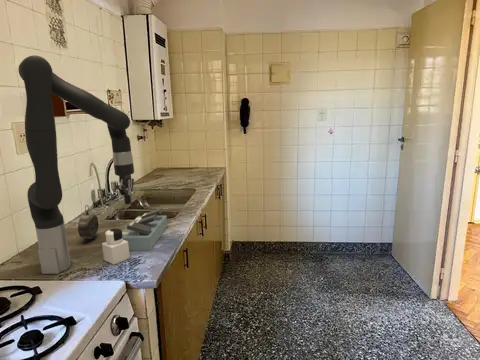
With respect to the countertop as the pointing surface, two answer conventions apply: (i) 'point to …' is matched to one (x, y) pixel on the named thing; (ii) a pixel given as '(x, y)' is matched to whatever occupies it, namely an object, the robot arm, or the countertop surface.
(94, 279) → the countertop surface
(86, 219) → the alarm clock
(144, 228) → the switch
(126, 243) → the medicine bottle
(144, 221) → the switch
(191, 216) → the countertop surface
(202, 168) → the countertop surface
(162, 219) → the switch box
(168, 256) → the countertop surface
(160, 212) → the switch
